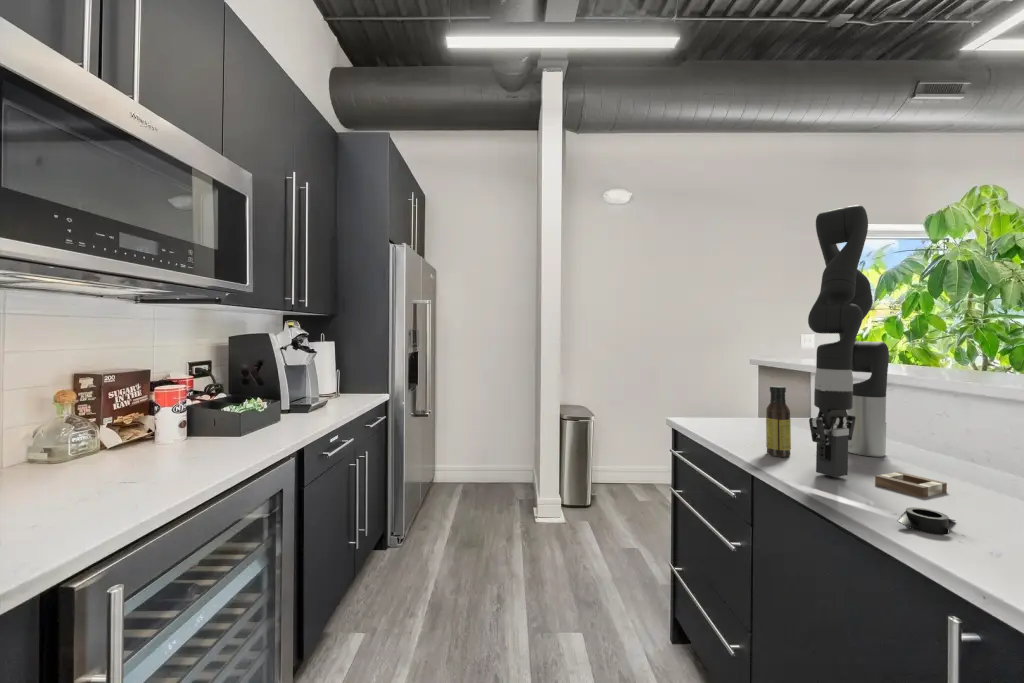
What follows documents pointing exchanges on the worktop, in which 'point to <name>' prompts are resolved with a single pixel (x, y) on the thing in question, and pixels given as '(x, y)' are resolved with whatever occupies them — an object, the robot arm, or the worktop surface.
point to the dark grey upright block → (835, 454)
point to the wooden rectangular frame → (911, 484)
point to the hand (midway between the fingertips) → (831, 459)
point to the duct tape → (925, 520)
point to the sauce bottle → (778, 424)
